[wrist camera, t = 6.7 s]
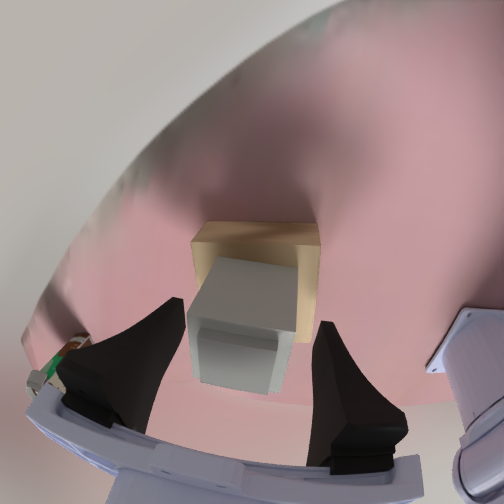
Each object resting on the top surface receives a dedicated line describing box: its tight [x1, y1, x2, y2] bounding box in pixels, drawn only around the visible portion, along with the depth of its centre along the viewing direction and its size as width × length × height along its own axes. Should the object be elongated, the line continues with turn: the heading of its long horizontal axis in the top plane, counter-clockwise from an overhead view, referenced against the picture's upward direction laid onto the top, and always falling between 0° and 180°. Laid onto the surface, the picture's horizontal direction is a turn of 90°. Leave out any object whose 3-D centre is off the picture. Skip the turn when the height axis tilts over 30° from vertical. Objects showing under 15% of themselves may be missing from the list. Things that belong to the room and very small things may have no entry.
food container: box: [26, 333, 94, 400], centre depth 24 cm, size 12×6×10 cm, turn 0°
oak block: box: [191, 221, 321, 343], centre depth 18 cm, size 7×7×4 cm
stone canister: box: [187, 256, 298, 395], centre depth 14 cm, size 4×4×6 cm
